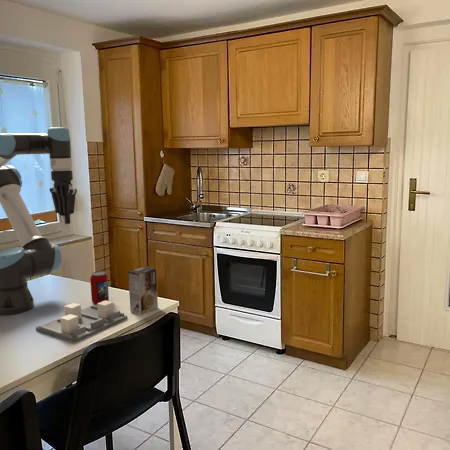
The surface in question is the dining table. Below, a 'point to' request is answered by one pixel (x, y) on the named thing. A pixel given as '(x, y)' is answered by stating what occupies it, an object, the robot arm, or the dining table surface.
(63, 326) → the beige block
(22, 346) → the dining table surface
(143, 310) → the coffee box
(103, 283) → the beverage can
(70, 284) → the dining table surface
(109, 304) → the cream white block
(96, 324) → the switch board
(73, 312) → the beige block
